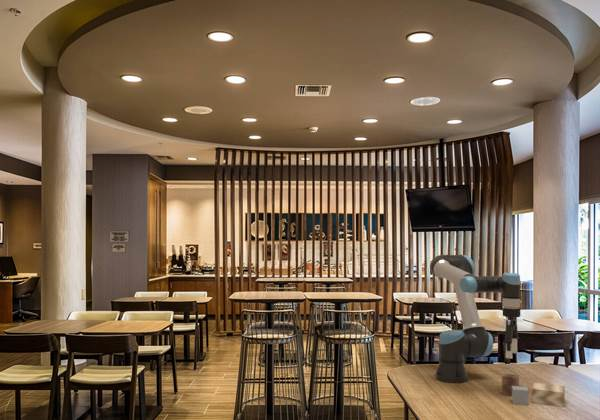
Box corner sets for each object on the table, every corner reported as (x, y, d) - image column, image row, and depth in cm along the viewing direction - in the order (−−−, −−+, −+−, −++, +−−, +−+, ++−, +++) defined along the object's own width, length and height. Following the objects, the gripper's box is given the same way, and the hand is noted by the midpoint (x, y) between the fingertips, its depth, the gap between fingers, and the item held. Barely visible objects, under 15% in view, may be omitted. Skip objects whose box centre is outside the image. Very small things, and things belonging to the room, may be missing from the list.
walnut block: (502, 394, 252) (502, 376, 253) (504, 391, 258) (504, 373, 258) (516, 396, 249) (516, 378, 250) (518, 393, 255) (518, 375, 255)
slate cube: (513, 403, 238) (513, 389, 238) (511, 400, 244) (511, 385, 244) (528, 405, 236) (528, 390, 237) (526, 401, 242) (526, 387, 243)
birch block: (532, 403, 240) (532, 388, 240) (534, 396, 251) (534, 382, 251) (563, 407, 235) (563, 392, 235) (564, 400, 245) (564, 386, 246)
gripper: (515, 311, 243) (516, 361, 242) (524, 305, 265) (524, 351, 264) (497, 309, 247) (497, 359, 246) (507, 304, 268) (507, 350, 267)
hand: (511, 355), depth 255 cm, fingers open, 13 cm apart
